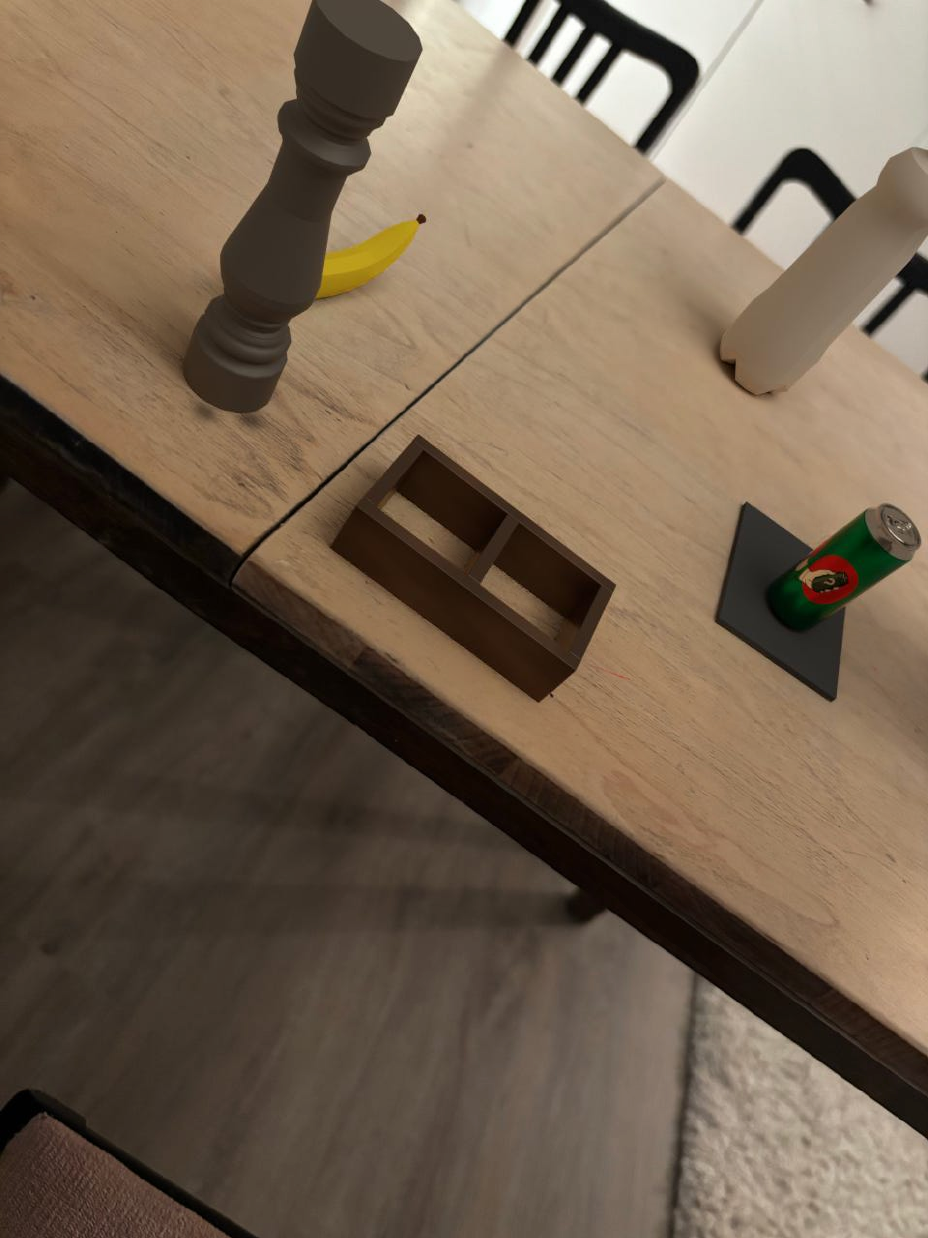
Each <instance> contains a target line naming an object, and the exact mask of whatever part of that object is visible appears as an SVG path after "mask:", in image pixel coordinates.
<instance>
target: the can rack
mask: <svg viewBox="0 0 928 1238" xmlns="http://www.w3.org/2000/svg"><path fill="white" fill-rule="evenodd" d="M396 492H398V493H400V494H401V495H402V496H404V498H406V499H407V500H409V501H410V502H412V503H413V504H414V505H416V506H417V507H418V508H420V509H421V510H422V511H423V512H425V513H426V514H427V515H429V516H430V517H431V518H433V519H434V520H435V521H437V522H438V523H439V524H440V525H442V526H443V527H445V528H446V529H447V530H449V531H450V532H451V533H453V534H454V535H455V536H457V537H458V538H459V539H461V540H462V541H463V542H465V544H467V545H469V546H470V547H471V548H472V549H474V550H475V553H474V554H473V556H472V557H471V559H470V560H469V562H468V563H467V565H466V566H465V568H464V569H463V571H462V569H460V568H458V567H457V566H456V565H454V563H452V562H451V561H449V560H448V559H447V558H445V556H442V555H441V553H439V552H437V551H436V550H435V549H433V548H432V547H431V546H429V544H426V543H425V542H424V541H422V540H421V539H420V538H418V537H417V536H416V535H414V534H413V533H412V532H411V531H409V530H408V529H407V528H405V527H404V526H403V525H401V524H400V523H399V522H397V521H396V520H395V519H393V518H392V517H391V516H389V515H388V514H387V513H385V512H384V511H383V508H384V507H385V506H386V504H387V503H388V502H389V501H390V500H391V498H392V497H393V496H394V495H395V494H396ZM329 548H331V549H332V550H333V551H335V552H336V553H337V554H338V555H340V556H341V557H342V558H344V559H345V560H346V561H348V562H349V563H350V564H352V565H353V566H354V567H356V568H357V569H359V570H360V571H361V572H362V573H364V574H365V575H366V576H368V577H369V578H371V580H373V581H375V583H377V584H379V585H380V586H382V588H384V589H386V590H387V591H388V592H389V593H390V594H392V595H394V596H395V597H396V598H398V599H399V600H400V601H401V602H403V603H404V604H406V605H407V606H408V607H410V608H411V609H412V610H414V611H415V612H416V613H418V614H419V615H421V617H423V618H425V619H426V620H427V621H429V622H430V623H431V624H432V625H434V626H435V627H436V628H438V629H439V630H441V631H442V632H443V633H444V634H446V635H447V636H449V637H450V638H452V639H453V640H454V641H456V642H457V643H458V644H459V645H461V646H462V647H463V648H465V649H466V650H468V651H469V652H470V653H472V654H473V656H476V657H477V658H478V659H480V660H481V661H483V662H484V663H485V664H486V665H488V666H489V667H490V668H492V669H493V670H494V671H496V672H497V673H499V674H500V675H501V676H502V677H504V678H505V679H507V680H508V681H509V682H511V683H512V684H513V685H515V686H516V687H517V688H518V689H520V690H522V691H523V692H524V693H526V694H527V695H528V696H529V697H531V698H532V699H533V700H535V701H536V702H538V703H541V702H542V701H543V700H544V699H546V698H547V697H548V696H549V695H550V694H552V692H553V691H555V690H556V689H557V688H558V687H560V686H561V685H562V684H563V683H565V682H566V680H568V679H569V678H570V677H571V676H572V675H574V674H575V673H576V672H577V670H578V668H579V666H580V664H581V662H582V660H583V657H584V655H585V653H586V651H587V650H588V647H589V644H590V643H591V640H592V639H593V636H594V634H595V632H596V630H597V627H598V626H599V624H600V621H601V619H602V617H603V615H604V612H605V611H606V609H607V606H608V604H609V602H610V600H611V598H612V596H613V594H614V592H615V589H616V587H617V584H616V583H615V582H614V581H612V580H611V579H609V578H608V577H607V576H605V575H604V574H603V573H602V572H600V571H599V570H598V569H596V568H595V567H594V566H592V565H591V564H590V563H588V561H587V560H585V559H583V558H582V557H581V556H580V555H578V554H577V553H576V552H574V551H573V550H571V549H570V548H569V547H568V546H567V545H565V544H564V543H562V542H561V541H560V540H559V539H557V538H556V537H554V536H553V535H552V534H551V533H550V532H548V531H547V530H545V528H543V527H542V526H540V525H539V524H537V523H536V522H535V521H534V520H532V519H531V518H529V516H527V515H526V514H525V513H524V512H522V511H520V510H519V509H518V508H517V507H515V506H514V505H513V504H512V503H510V502H509V501H508V500H506V499H505V498H503V497H502V496H500V494H498V493H497V492H496V491H494V490H493V489H492V488H491V487H489V486H488V485H486V484H485V483H484V482H482V480H480V479H478V477H476V476H475V475H473V474H472V473H471V472H470V471H468V470H467V469H465V468H464V467H463V466H462V465H460V464H459V463H458V462H456V461H455V460H454V459H452V458H451V457H450V456H448V455H447V454H446V453H444V451H442V450H441V449H439V448H438V447H437V446H436V445H434V444H433V443H431V442H430V441H428V439H426V438H425V437H423V435H421V434H419V433H417V435H416V436H415V437H414V438H413V439H412V440H411V442H410V443H409V444H408V445H407V446H406V447H405V448H404V449H403V451H402V452H401V453H400V454H399V455H398V456H397V458H395V460H394V461H393V462H392V463H391V464H390V465H389V467H388V468H387V469H386V470H385V471H384V472H383V473H382V474H381V476H380V477H379V478H378V479H377V480H376V482H375V483H374V484H372V486H371V487H370V488H369V489H368V490H367V492H366V493H365V494H364V495H363V496H362V498H361V499H360V500H359V501H358V502H357V504H356V505H355V506H354V507H353V509H352V510H351V512H350V514H349V516H348V517H347V519H346V520H345V522H344V523H343V525H342V527H341V529H340V530H339V531H338V533H337V534H336V537H334V539H333V541H332V543H331V545H330V546H329ZM493 565H495V566H497V568H499V569H500V570H502V571H503V572H504V573H506V574H507V575H508V576H510V577H511V578H512V579H513V580H515V581H516V582H518V584H520V585H521V586H523V587H524V588H525V589H527V590H528V591H529V592H531V593H532V594H534V596H536V597H537V598H538V599H540V600H542V601H543V602H544V603H545V604H546V605H548V606H549V607H551V608H552V609H553V610H554V611H556V612H557V613H558V614H560V615H561V616H562V617H564V618H565V620H564V621H563V624H562V625H561V628H560V630H559V632H558V634H557V635H556V637H555V639H553V638H551V636H549V635H548V634H546V633H545V632H544V631H543V630H541V629H540V628H539V627H537V626H536V625H534V624H533V623H532V622H530V620H528V619H527V618H525V617H524V616H522V615H521V614H520V613H519V612H517V611H516V610H515V609H513V608H512V607H510V606H509V605H508V604H506V603H505V602H504V601H502V600H501V599H500V598H498V597H497V596H496V595H495V594H493V593H492V592H491V591H489V590H487V588H485V587H484V586H483V585H481V583H482V582H483V580H484V579H485V577H486V576H487V574H488V573H489V571H490V570H491V568H492V567H493Z"/></svg>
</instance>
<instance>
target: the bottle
mask: <svg viewBox="0 0 928 1238" xmlns="http://www.w3.org/2000/svg"><path fill="white" fill-rule="evenodd" d="M927 237H928V149H926V148H922V147H919V146H911V147H909V148H907V149H905V150H903V151H901V152H898V153H897V154H895V155H893V156H891V157H889V158H888V160H887V161H886V163H885V165H884V166H883V167H882V169H881V170H880V172H879V175H878V177H877V180H876V184H875V185H874V186H873V187H872V188H870V189H869V190H868V191H866V192H865V193H864V194H863V195H861V196H859V198H857V199H856V200H854V201H853V202H852V203H851V204H849V206H848V207H847V208H846V209H845V210H844V211H843V212H842V213H841V214H840V215H839V216H838V217H837V218H836V219H835V220H834V221H833V222H832V223H831V224H830V225H829V226H828V227H827V228H826V229H825V230H824V231H823V232H822V233H821V234H820V235H819V236H818V237H817V238H816V239H815V240H814V241H813V242H812V243H811V244H810V246H808V247H807V248H806V249H805V250H804V251H803V252H802V253H801V255H799V256H798V257H797V258H796V259H795V261H793V262H792V263H791V265H789V266H788V268H786V270H785V271H783V273H782V274H781V275H780V276H778V278H777V279H775V281H773V283H772V284H771V285H769V287H768V288H766V289H765V290H764V291H762V292H761V293H759V294H758V295H756V297H754V299H753V300H751V302H749V304H748V305H747V306H746V307H745V308H744V309H743V311H742V312H741V313H740V314H739V315H738V316H737V317H736V318H735V320H734V321H733V322H732V323H731V324H730V325H729V326H728V327H727V328H726V329H725V331H724V333H723V334H722V336H721V340H720V346H719V356H720V360H721V361H723V362H725V363H728V364H731V365H733V364H735V373H734V377H735V378H734V381H735V382H736V383H738V384H739V385H740V386H741V387H742V388H744V389H745V390H746V391H748V392H750V393H751V394H753V395H754V396H759V395H762V394H764V393H768V392H769V393H770V394H771V395H774V394H780V393H784V392H789V390H791V389H792V387H793V386H794V385H795V384H796V383H797V382H799V381H800V380H801V378H803V377H804V376H805V375H806V374H807V373H808V372H809V371H810V370H811V369H812V368H814V366H815V365H817V364H818V363H819V362H820V360H821V359H822V357H823V356H824V355H825V353H826V352H827V350H828V349H829V347H830V346H832V344H833V343H834V342H835V341H836V340H837V339H838V338H839V337H840V335H842V333H843V332H845V330H846V329H847V328H848V327H849V326H850V325H851V324H852V323H853V322H854V321H855V320H856V318H857V317H858V316H860V314H861V313H862V312H863V311H864V310H865V309H866V308H867V307H868V306H869V305H870V304H871V303H872V302H873V300H874V299H876V298H877V296H878V295H879V294H880V293H881V292H882V291H883V290H884V289H885V288H886V287H887V286H888V285H889V283H891V282H892V281H893V279H895V277H896V276H897V275H898V274H899V273H900V272H901V271H902V270H903V269H904V267H905V266H907V264H908V263H909V262H910V261H911V260H912V258H913V257H914V256H915V254H916V253H917V252H918V250H919V249H920V248H921V246H922V245H923V243H924V242H925V241H926V239H927Z"/></svg>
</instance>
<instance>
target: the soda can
mask: <svg viewBox="0 0 928 1238" xmlns="http://www.w3.org/2000/svg"><path fill="white" fill-rule="evenodd" d="M921 546H922V536H921V533H920V531H919V529H918V527H917V525H916V524H915V522H914V521H913V520H912V519H911V518H910V517H909V516H908V515H907V514H906V513H905V511H903V510H902V509H900V507H898V506H896V505H894V504H891V503H889V502H888V503H887V502H884V503H880V504H879V505H878V506H872V507H871V506H870V507H867V508H866V509H864V510H863V511H862V512H861V513H860V514H858V515H857V516H855V517H854V518H852V520H850V521H849V522H848V523H846V524H845V525H843V526H842V527H841V528H840V529H838V531H835V533H834V534H832V535H831V536H829V537H828V538H827V539H826V540H825V541H823V542H822V543H821V544H819V545H818V546H817V547H815V548H813V551H811V552H810V553H809V554H808V555H806V556H805V557H804V558H802V559H801V560H800V561H799V562H797V563H796V564H795V565H793V566H792V567H791V568H789V569H788V570H787V571H786V572H784V573H783V574H782V575H780V576H779V577H778V578H777V579H775V580H774V581H773V582H772V583H771V584H770V586H769V592H768V600H769V604H770V607H771V609H772V611H773V612H774V614H775V615H776V616H777V618H778V619H779V620H780V621H781V622H783V623H784V624H785V625H786V626H788V627H790V628H792V629H796V630H802V631H808V630H811V629H812V628H814V627H815V626H817V625H818V624H820V623H821V622H822V621H824V620H825V619H827V618H828V617H830V616H831V615H833V614H834V613H835V612H837V611H838V610H840V609H841V608H843V607H844V606H845V607H846V606H847V605H849V604H850V603H852V602H853V601H854V600H856V599H857V598H859V597H861V596H862V595H863V594H864V593H866V592H868V591H869V590H870V589H872V588H874V587H875V586H876V585H878V584H879V583H881V582H882V581H883V580H885V579H886V578H888V577H889V576H891V575H892V574H893V573H895V572H896V571H898V570H899V569H901V568H902V567H903V566H905V565H907V564H908V563H909V562H911V561H912V560H913V558H914V557H915V553H916V552H917V551H918V550H920V548H921Z"/></svg>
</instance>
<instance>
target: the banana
mask: <svg viewBox="0 0 928 1238" xmlns="http://www.w3.org/2000/svg"><path fill="white" fill-rule="evenodd" d="M425 223H427V217H426V215H424V213H418V215H417V217H416V218H415V219H412V220H411V219H410V220H407V221H401V222H399V223H396V224H394V225H391V226H389V227H387V228H386V229H383V230H381V231H380V232H378V233H376V234H374V235H373V236H371V237H369V238H367V239H366V240H364V241H362V242H361V243H358V244H356V245H353V246H351V247H347V248H344V249H339V250H336V251H335V250H334V251H331V252H326V254H325V260H324V267H323V274H322V281H321V287H320V289H319V291H318V293H317V295H316V298H315V299H322V298H328V297H333V296H336V295H341V294H344V293H347V292H350V291H352V290H355V289H357V288H359V287H362V286H363V285H366V284H367V283H368V282H371V281H372V280H374V279H375V278H376V277H378V276H380V275H381V274H383V272H384V271H386V270H387V269H388V268H389V267H391V266H393V265H394V263H395V262H396V261H398V260H399V258H400V257H401V256H402V255H403V254H404V252H405V251H406V250H407V249H408V247H410V245H411V244H412V242H413V240H414V238H415V236H416V234H417V232H418V229H419V227H420V225H422V224H425Z"/></svg>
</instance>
